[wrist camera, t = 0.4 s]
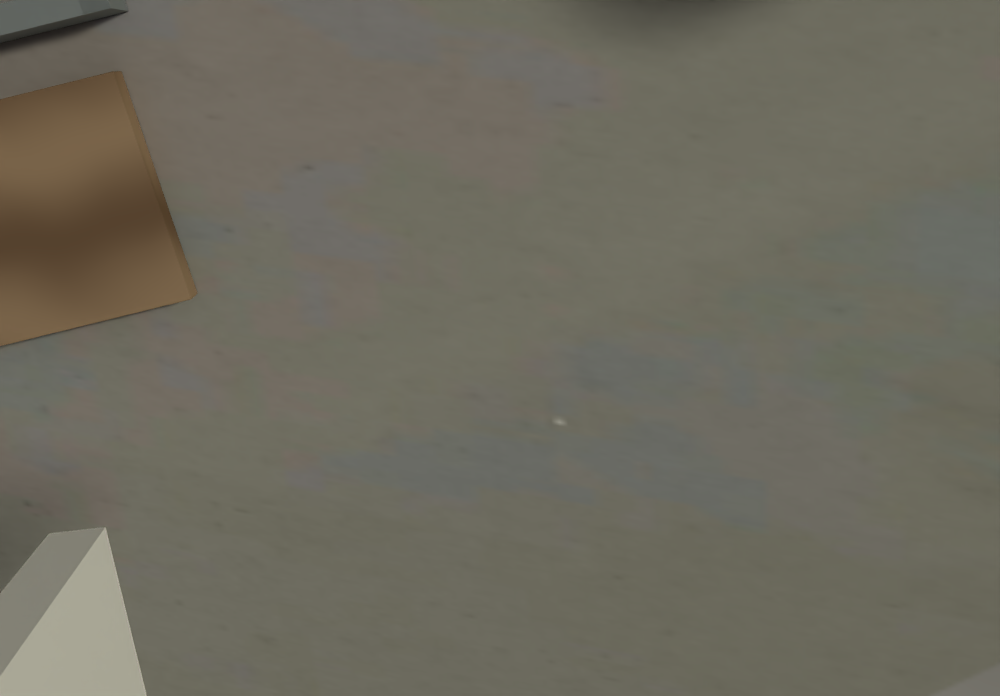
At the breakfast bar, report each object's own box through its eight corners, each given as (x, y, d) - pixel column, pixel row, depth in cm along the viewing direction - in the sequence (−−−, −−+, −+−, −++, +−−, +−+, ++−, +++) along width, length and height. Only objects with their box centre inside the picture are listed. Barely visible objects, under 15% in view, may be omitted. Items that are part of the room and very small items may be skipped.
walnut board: (-181, 146, 36) (-198, 148, 35) (121, 71, 36) (112, 71, 35) (-85, 362, 39) (-98, 370, 38) (197, 293, 39) (191, 299, 38)
